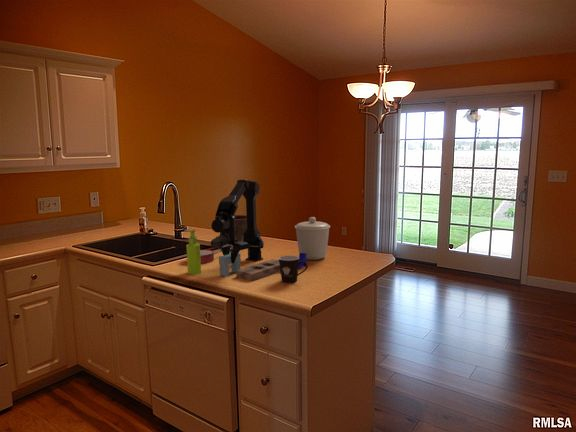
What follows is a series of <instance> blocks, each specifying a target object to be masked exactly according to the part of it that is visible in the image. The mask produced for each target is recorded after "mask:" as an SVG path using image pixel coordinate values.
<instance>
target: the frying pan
mask: <svg viewBox="0 0 576 432" xmlns="http://www.w3.org/2000/svg"><path fill="white" fill-rule="evenodd" d="M239 242H240V241H239ZM231 247H232V246H231ZM231 247H230V249H231ZM218 253H222V251H221V250H220V249H219V250H216V251H214V250H211V249H200V260H201V265H203V264H210V263H212V262H214V260H215V255H216V254H217V255H218Z"/></svg>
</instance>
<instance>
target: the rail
mask: <svg viewBox="0 0 576 432" xmlns="http://www.w3.org/2000/svg"><path fill="white" fill-rule="evenodd" d="M277 273H281V271H280V264H279V259H274V258H271V259H269V260H265V261H262V262H259V263H256V264H253V265H250V266H245V267H243V268H240V269H239V270H236V274H235V275H236V278H240V279H244V280H247V281H250V282H251V281H252V282H254V281H257V280H260V279H262V278H265V277H268V276H271V275H274V274H277Z"/></svg>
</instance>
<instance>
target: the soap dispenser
mask: <svg viewBox="0 0 576 432" xmlns="http://www.w3.org/2000/svg"><path fill="white" fill-rule="evenodd" d="M182 232H183V233H188V232H190V236H189V237H188V243H187V244H186V246H185V247H186V262H187V274H188V275H199V274H201V273H202V264H201V260H200V250H201V244H200V243H198V241H197V236H196V235H195V232H197V230H196V229H191V228H190V229H186V230H185V229H184V230H183V231H182Z"/></svg>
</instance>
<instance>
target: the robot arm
mask: <svg viewBox="0 0 576 432" xmlns="http://www.w3.org/2000/svg"><path fill="white" fill-rule="evenodd" d="M260 187H261V186H260V184H259V183H258V182H257V181H253V180H249V179H238V180H237V181H236V184H235V185H234V187H233V188H232V190H231V192H230V193H229V195H227V196H225V197H224V198H222V199H221V200H220V202H219V203H218V206H217V210H216V212H215V217H214V218H215V219H214V220H212V222H211V225H210V226H211V229H212V232H214V233H218V234H219V235H218V236H215V237H214V238H212V240H211V241H210V245H211V246H212V247H213V248H217V249H219V250H221V254H222V256H224V255H228V254H231V262H232V263H234V262H235V260H236V257H237V255H238V253H240V251H243V250H247V258H245V260H247V261H251V262H257V261H261V260H264V257H262V249H264V246H265V245H264V244H265V243H264V240H263V239H262V237H261V232H260V230H259V228H258V226H257V224H258V223H257V198H258V195H259V194H260ZM242 196H243V198H244V199H245V210H246V211H245V212H246V214H245V215H247V229H246V231H245V232H244V234H243V236H244V238H243V242H242V241H240V242H238V239H236V237H235V233H237V230H235V217H236V215H237V214H236V212H237V211H238V207H239V205H238V202H239V200H240V199H241V198H242ZM235 242H236V243H235ZM231 246H232V247H231ZM230 247H231V248H230Z"/></svg>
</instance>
